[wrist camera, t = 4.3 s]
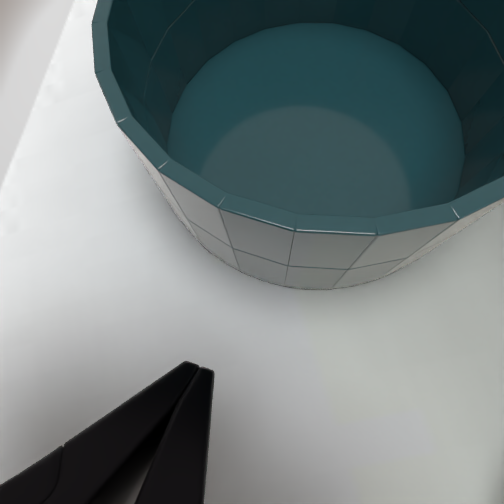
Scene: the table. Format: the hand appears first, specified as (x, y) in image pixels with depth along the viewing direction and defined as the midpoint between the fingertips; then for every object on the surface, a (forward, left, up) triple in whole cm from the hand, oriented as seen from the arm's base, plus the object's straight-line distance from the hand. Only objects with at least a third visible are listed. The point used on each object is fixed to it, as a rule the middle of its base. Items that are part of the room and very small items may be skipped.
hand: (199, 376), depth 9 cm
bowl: (+7, +12, -8) cm, 16 cm away
